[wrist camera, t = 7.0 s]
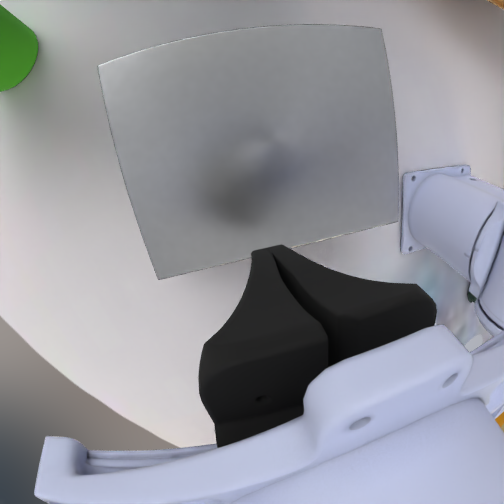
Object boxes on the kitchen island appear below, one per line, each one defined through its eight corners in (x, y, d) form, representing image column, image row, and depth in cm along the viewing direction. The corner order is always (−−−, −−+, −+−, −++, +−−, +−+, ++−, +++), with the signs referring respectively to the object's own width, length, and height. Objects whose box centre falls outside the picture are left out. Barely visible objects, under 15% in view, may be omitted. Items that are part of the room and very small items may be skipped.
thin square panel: (374, 30, 12) (381, 28, 11) (392, 217, 17) (398, 221, 16) (101, 67, 11) (97, 65, 10) (159, 274, 16) (158, 280, 15)
